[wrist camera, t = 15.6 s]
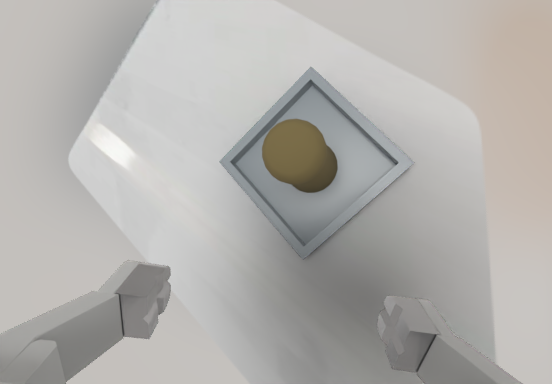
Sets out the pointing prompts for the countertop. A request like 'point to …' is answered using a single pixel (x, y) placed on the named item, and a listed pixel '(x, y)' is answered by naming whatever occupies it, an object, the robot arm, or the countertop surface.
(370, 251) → the countertop surface
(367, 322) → the countertop surface
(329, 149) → the cork
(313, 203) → the slate grey tray
